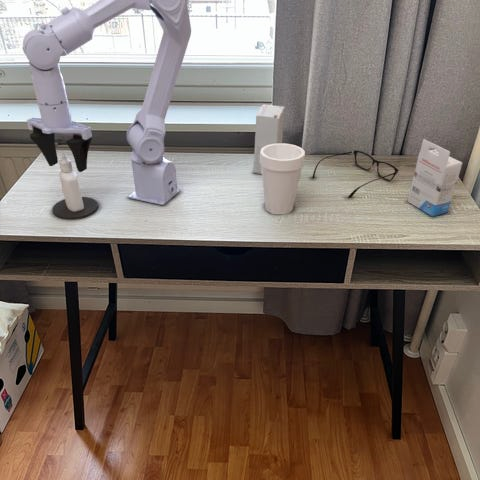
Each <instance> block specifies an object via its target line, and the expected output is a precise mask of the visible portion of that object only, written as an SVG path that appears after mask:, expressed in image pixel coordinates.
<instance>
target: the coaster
mask: <svg viewBox="0 0 480 480" xmlns="http://www.w3.org/2000/svg"><path fill="white" fill-rule="evenodd" d="M82 200H83V205H84V209H83V210H81V211H77V212H73V211H71V210H69V209H68V207H67V205H66V201H65V198H64V199H62V200H60V201H58V202H56V203H55V204H54V205H53V206H52V209H51V211H52V214H53V216H55V217H56V218H57V219H61V220H79V219H84V218H87V217H90V216H92V215H93V214H95V213H96V212H97V211H98V209H99V202H98V201H97V200H96V199H94V198H92V197H87V196H82Z"/></svg>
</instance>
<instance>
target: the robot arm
mask: <svg viewBox="0 0 480 480" xmlns="http://www.w3.org/2000/svg"><path fill="white" fill-rule="evenodd" d="M188 3H189V0H98V1H96V2H95V3H93V4H91V5H90V6H89V7H87V8H86V9H81V8H78V7H75V6H74V7H71V8H70V9H69V7H67V6H66V7H64V8H61V10H60V12H61V13H62V14H60V15H58V16H57V17H55V18H54V19H51V20H50V21H49V22H47V23H45V22H41V23H40V24H38V27H39V28H40V29H31V30H29V31H28V32H27V33H26V34H25V35H24V38H23V41H22V47H21V48H22V51H23V53H24V55H25V57H26V58H27V60H28V66H29V67H28V69H29V72H30V73H31V81H32V83H31V84H32V86H33V90H34V94H35V98H36V103H37V106H38V111H39V114H40V117H31V118H28V119H27V120H26V124H27V128H28V130H29V131H32V133H30V134H29V138H30V140H31V141H32V142H33V143H34V144H35V145H36V146H37V148H38V149H39V151H40V152H41V153H42V155H43V157H44V159H45V160H46V163H47V164H48V166H49V167H53V166H55V165H56V164H59V159H58V153H57V149H56V139H55V138H56V135H55V134H60V135H66V136H71V137H72V138H69V139H67V140H66V141H65V142H66V144H67V146H68V147H69V149H70V152H71V154H72V156H73V160H74V163H75V166H76V170H77V172H78V173H82V172H84V171H86V170H87V168H88V155H89V150H90V146H91V143H92V140H93V133H92V129H91V126H86V125H84V124H81V123H79V122H76V121H74V120H73V117H72V113H71V109H70V104H69V99H68V95H67V89H66V85H65V81H64V78H63V74H62V72H61V68H60V60H61V57H66V56H68V55H69V54H71V53H72V52H74V51H76V50H77V49H79V48H80V47H82V46H84V45H85V44H87V43H89V42H91V41H92V40H93V39H94V35H95V31H96V28H99V27H100V26H103V25H104V24H105V23H108V22H109V21H111V20H113V19H115V18H117V17H119V16H120V15H123V14H125V13H126V12H127V11H129V10H131V9H135V10H136V9H137V10H144V11H152V12H153V14H154V15H155V17H156V19H157V22H158V23H159V26H160V27H161V30H162V36H161V39H160V43H159V46H158V50H157V53H156V57H155V61H154V63H153V68H152V71H151V75H150V77H149V78H150V79H149V82H148V86H147V89H146V93H145V96H144V99H143V102H142V106H141V109H140V110H139V111H138V112H137V113H136V114H135V118H134V120H133V122H132V123H131V125H130V126H129V127H128V129H127V131H126V141H127V143H128V145H129V146H130V147H131V148H132V152H131V155H130V163H131V168H132V169H131V170H132V175H133V176H132V177H133V183H134V191H132V192H131V193H130V194H128V198H129V199H132V200H136V201H141V202H145V203H150V204H155V205H160V206H164V205H165V204H167V203H168V202H169V201H170V200H171V199H173V197H175V196H176V195H177V194H178V193H179V192H180V190H179V188H178V180H177V169H176V165H175V163H174V162H173V161H170V160H168V159H166V158H165V157H164V153H165V137H166V123H165V120H166V117H167V114H168V110H169V107H170V104H171V101H172V98H173V94H174V90H175V87H176V84H177V81H178V77H179V75H180V71H181V69H182V65H183V62H184V59H185V56H186V53H187V49H188V46H189V42H190V39H191V35H192V26H191V25H192V24H191V20H190V13H189V6H188Z"/></svg>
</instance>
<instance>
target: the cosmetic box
mask: <svg viewBox="0 0 480 480" xmlns="http://www.w3.org/2000/svg"><path fill="white" fill-rule="evenodd" d="M285 110H286V107H285V106H282V105H271V104H263V103H262V105H261V107H260V108H259V110H258V112H257V113H256V115H255V134H254V135H255V136H254V154H253V173H254V174H260V175H262V171H261V164H260V151H261V149H262V148H263V147H265V146H267V145H271V144H280V143H283V135H284V124H285Z"/></svg>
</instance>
